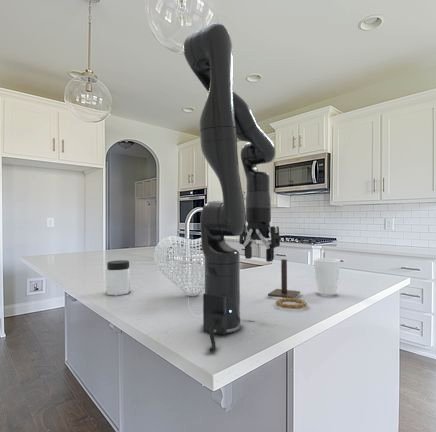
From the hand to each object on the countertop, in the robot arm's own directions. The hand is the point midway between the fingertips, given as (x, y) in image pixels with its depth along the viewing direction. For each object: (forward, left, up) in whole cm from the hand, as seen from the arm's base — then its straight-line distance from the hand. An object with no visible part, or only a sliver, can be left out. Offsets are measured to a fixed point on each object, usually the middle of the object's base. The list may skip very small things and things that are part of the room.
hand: (258, 259), depth 93 cm
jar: (-4, +57, -16) cm, 60 cm away
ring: (+10, -7, -15) cm, 19 cm away
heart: (+6, +29, -16) cm, 34 cm away
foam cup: (+31, -14, -16) cm, 38 cm away
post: (+21, -1, -16) cm, 27 cm away
